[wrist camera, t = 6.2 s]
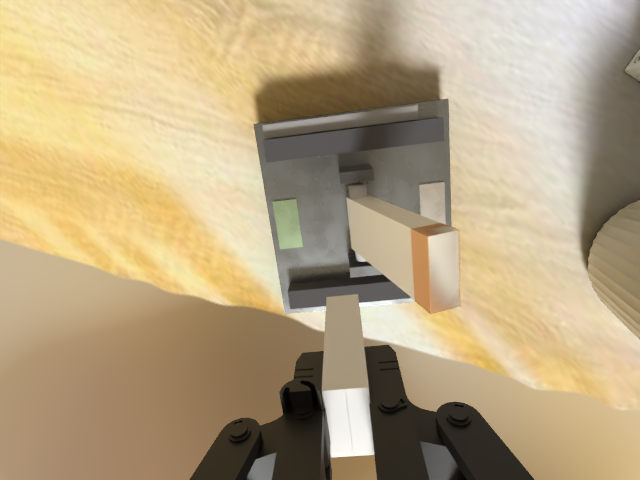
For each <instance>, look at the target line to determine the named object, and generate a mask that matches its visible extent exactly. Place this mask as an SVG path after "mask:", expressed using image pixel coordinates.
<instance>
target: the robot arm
mask: <svg viewBox="0 0 640 480" xmlns="http://www.w3.org/2000/svg"><path fill="white" fill-rule="evenodd" d="M324 339H325V340H324V351H320V352H308V353H302V354H301V356H300V357H299V359H298V360H297V361H296V367H295V373H294V379H293V380H292V381H290V382H288V383H286V384H285V385H284V386H283V387H282V388H281V391H280V399H281V404H282V409H283V415H282V416H281V417H280V418H278V419H277V420H275V421H272V422H270V423H267V424H264V425H261V426H260V425H259V423H257V421H256V420H254V419H251V418H240V419H237V420H234V421H232V422H231V423H229V424H227V425H226V426H225V427H224V428H223V430H222V431H221V432H220V434H219V435H218V437H217V438H216V440H215V441H214V443H213V444H212V446H211V447H210V449H209V451H208V452H207V454H206V455H205V457H204V458H203V460H202V461H201V463H200V464H199V466H198V468H197V469H196V471H195V472H194V474H193V476H192V477H191V478H190V480H332V469H331V462H330V451H331V457H344V456H361V455H375V462H376V473H377V480H534V478H533V477H532V476H531V475H530V474H529V472H528V471H526V469H525V468H524V467H523V465H522V464H521V463H520V462H519V460H518V459H517V458H516V457H515V456H514V454H513V453H512V452H511V451H510V450H509V448H508V447H507V446H506V445H505V443H504V442H503V441H502V440H501V439H500V437H499V436H498V435H497V434H496V433H495V432H494V430H493V429H492V428H491V427H490V425H489V424H488V423H487V422H486V421H485V419H484V418H483V417H482V416H481V415H480V413H479V412H478V411H477V410H475V409H474V408H473V407H471V406H469V405H467V404H465V403H460V402H449V403H446V404H444V405H441V406H440V407H439V409H438V410H437V412H434V411H428V410H424V409H421V408H419V407H417V406H415V405H413V404H412V403H411V402H410V401H409V400H408V398H407V396H406V393H405V389H404V385H403V381H402V377H401V372H400V369H399V364H398V360H397V357H396V352H395V351H394V350H393V349H392V348H391V347H390V346H389V345H381V346H370V347H364V341H363V333H362V324H361V316H360V307H359V298H358V294H354V295H343V296H333V297H327V300H326V319H325V337H324Z"/></svg>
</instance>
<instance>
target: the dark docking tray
mask: <svg viewBox="0 0 640 480" xmlns="http://www.w3.org/2000/svg"><path fill="white" fill-rule="evenodd" d="M416 119H418V105H414V106H406V107H399V108H391V109H383V110H375V111H368V112H360V113H352V114H345V115H337V116H329V117H321V118H314V119H306V120H298V121H291V122H283V123H275V124H267V125H262V128H263V134H264V139H265V140H263V144H264V150H265V156H266V162H267V163H268V162H276V161H284V160H293V159H301V158H309V157H317V156H325V155H334V154H342V153H350V152H358V151H366V150H374V149H383V148H391V147H399V146H407V145H415V144H423V143H432V142H440V141H444V119H443V117H437V118H429V119H421V120H416ZM408 120H413V121H408ZM400 121H406V122H400ZM392 122H398V123H392ZM384 123H390V124H384ZM376 124H382V125H376ZM368 125H374V126H368ZM360 126H366V127H360ZM353 127H358V128H353ZM345 128H350V129H345ZM337 129H342V130H337ZM329 130H335V131H329ZM321 131H327V132H321ZM313 132H319V133H313ZM305 133H311V134H305ZM297 134H303V135H297ZM290 135H295V136H290ZM282 136H287V137H282ZM274 137H279V138H274ZM266 138H272V139H266ZM354 294H358V298H359V303H364V302H375V301H385V300H396V299H407V298H411V297H410V296H409V295H408V294H406V293H405V292H404V291H403V290H402V289H400V288H399V287H398V286H397V285H395V284H394V283H393V282H392V281H391V280H389V279H388V278H387V277H386V276H384V275H373V276H362V277H352V278H342V279H332V280H322V281H312V282H302V283H292V284H289V288H288V298H289V304H290V309H300V308H311V307H321V306H326V300H327V297H333V296H343V295H354Z"/></svg>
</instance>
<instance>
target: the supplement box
mask: <svg viewBox="0 0 640 480" xmlns="http://www.w3.org/2000/svg"><path fill="white" fill-rule="evenodd" d="M625 72H626V73H627V74H629V75H631V76H632V77H634V78H635V79H637V80H638V81H640V49H639V51H638V52H637V53H636V55H635V56H634V58H633V59H632V60H631V62H630V63H629V64H628V66H627V67H626V69H625Z"/></svg>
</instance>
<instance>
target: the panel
mask: <svg viewBox="0 0 640 480" xmlns="http://www.w3.org/2000/svg"><path fill="white" fill-rule="evenodd" d="M414 105H418V119H416V120H421V119H429V118H437V117H443V119H444V141H440V142H432V143H423V144H415V145H407V146H399V147H391V148H383V149H374V150H366V151H358V152H350V153H342V154H334V155H325V156H317V157H309V158H301V159H293V160H284V161H276V162H268V163H267V162H266V156H265V150H264V144H263V140H265V139H264V134H263V128H262V125H267V124H275V123H283V122H291V121H298V120H306V119H314V118H321V117H329V116H337V115H345V114H352V113H360V112H368V111H375V110H383V109H391V108H399V107H406V106H414ZM408 121H413V120H408ZM400 122H406V121H400ZM392 123H398V122H392ZM384 124H390V123H384ZM376 125H382V124H376ZM368 126H374V125H368ZM360 127H366V126H360ZM353 128H358V127H353ZM254 129H255V135H256V141H257V147H258V153H259V159H260V165H261V171H262V177H263V183H264V189H265V195H266V201H267V207H268V213H269V219H270V225H271V231H272V237H273V243H274V249H275V255H276V261H277V267H278V273H279V279H280V285H281V291H282V297H283V303H284V309H285V314H290V313H300V312H311V311H322V310H326V306H321V307H311V308H300V309H290V304H289V298H288V288H289V284H292V283H302V282H312V281H322V280H332V279H342V278H352V277H362V276H373V275H383V274H382V273H381V272H380V271H378V270H377V269H376V268H375V267H373V266H372V265H371V264H370V263H369V262H367V261H366V262H359V261H357V260H356V255H355V251H354V250H353V249H352V248H351V238H350V228H349V219H348V209H347V200H346V198H347V197H350V196H349V187H348V186H349V185H351V184H356V183H366V189H367V195H370V196H373V197H375V198H378V199H380V200H383V201H385V202H388V203H390V204H393V205H396V206H398V207H401V208H403V209H406V210H408V211H411V212H414V213H416V214H419V215H421V216H424V217H426V218H429V219H431V220H434V221H437V222H439V223H443V224H445V225H448V226H450V227H451V190H450V148H449V105H448V99H443V100H435V101H427V102H420V103H412V104H404V105H396V106H389V107H381V108H373V109H366V110H358V111H350V112H343V113H335V114H327V115H320V116H312V117H304V118H297V119H289V120H281V121H273V122H266V123H258V124H254ZM345 129H350V128H345ZM337 130H342V129H337ZM329 131H335V130H329ZM321 132H327V131H321ZM313 133H319V132H313ZM305 134H311V133H305ZM297 135H303V134H297ZM290 136H295V135H290ZM282 137H287V136H282ZM274 138H279V137H274ZM266 139H272V138H266ZM408 302H415V300H414V299H413V298H407V299H396V300H385V301H375V302H364V303H359V307H365V306H375V305H386V304H397V303H408Z"/></svg>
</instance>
